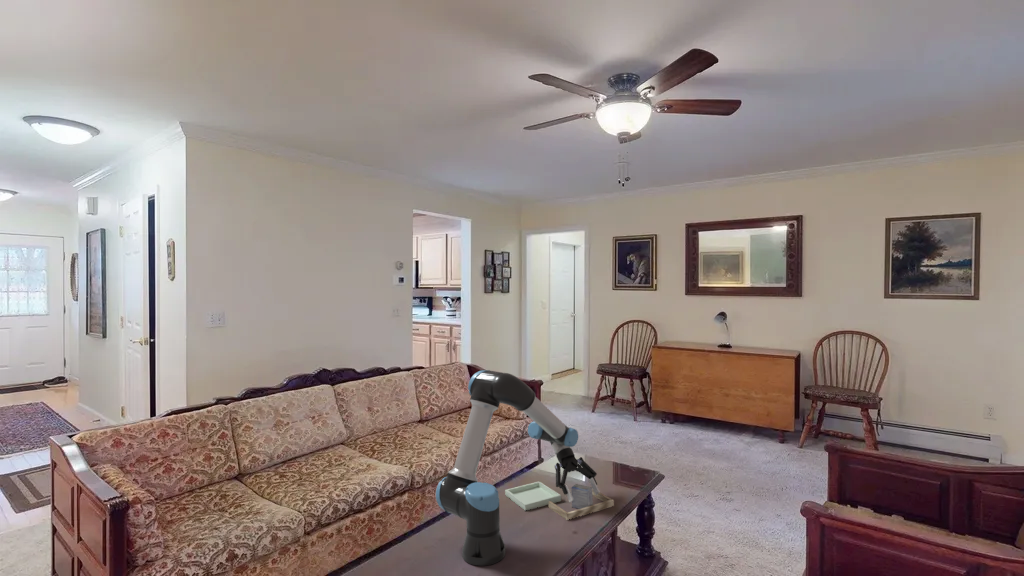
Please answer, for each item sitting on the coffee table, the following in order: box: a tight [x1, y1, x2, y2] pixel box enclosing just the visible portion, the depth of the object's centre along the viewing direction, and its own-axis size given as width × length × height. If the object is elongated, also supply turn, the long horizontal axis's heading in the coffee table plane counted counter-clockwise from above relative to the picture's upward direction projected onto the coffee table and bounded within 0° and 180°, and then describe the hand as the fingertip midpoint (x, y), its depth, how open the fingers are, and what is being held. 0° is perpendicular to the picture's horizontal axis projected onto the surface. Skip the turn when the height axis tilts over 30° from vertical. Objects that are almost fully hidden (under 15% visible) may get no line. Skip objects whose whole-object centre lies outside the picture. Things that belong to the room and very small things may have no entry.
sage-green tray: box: [504, 481, 562, 512], centre depth 219 cm, size 18×18×2 cm
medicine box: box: [570, 483, 594, 510], centre depth 209 cm, size 8×4×9 cm, turn 58°
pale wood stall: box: [548, 488, 615, 521], centre depth 209 cm, size 24×14×2 cm, turn 119°
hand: (585, 497), depth 207 cm, fingers open, 13 cm apart
